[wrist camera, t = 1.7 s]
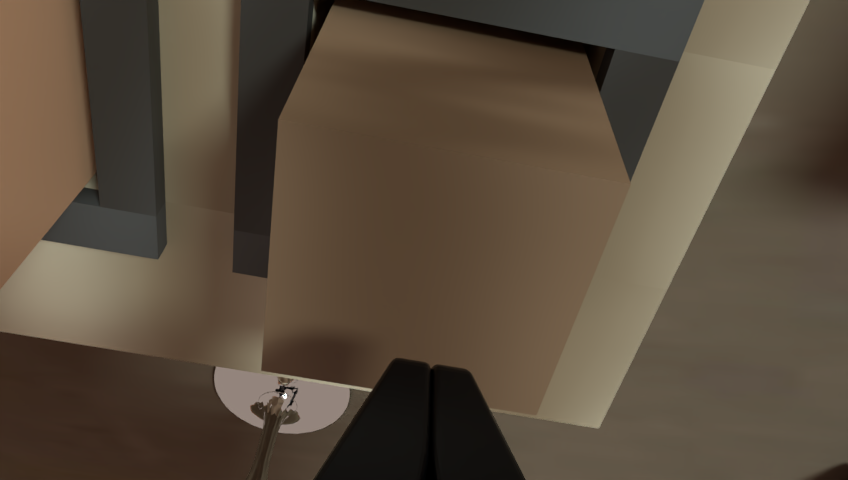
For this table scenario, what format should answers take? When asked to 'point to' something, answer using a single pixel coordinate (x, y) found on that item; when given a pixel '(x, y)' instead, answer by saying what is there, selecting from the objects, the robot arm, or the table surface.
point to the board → (256, 153)
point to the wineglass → (278, 407)
